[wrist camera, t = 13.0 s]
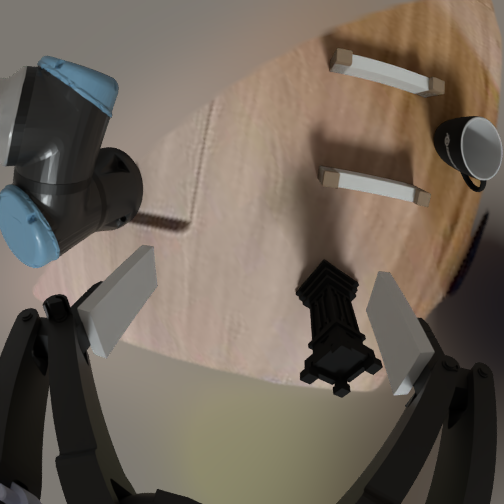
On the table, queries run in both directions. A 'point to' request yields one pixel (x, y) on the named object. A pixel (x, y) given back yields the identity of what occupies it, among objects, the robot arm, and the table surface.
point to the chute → (393, 77)
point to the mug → (470, 148)
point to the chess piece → (334, 330)
